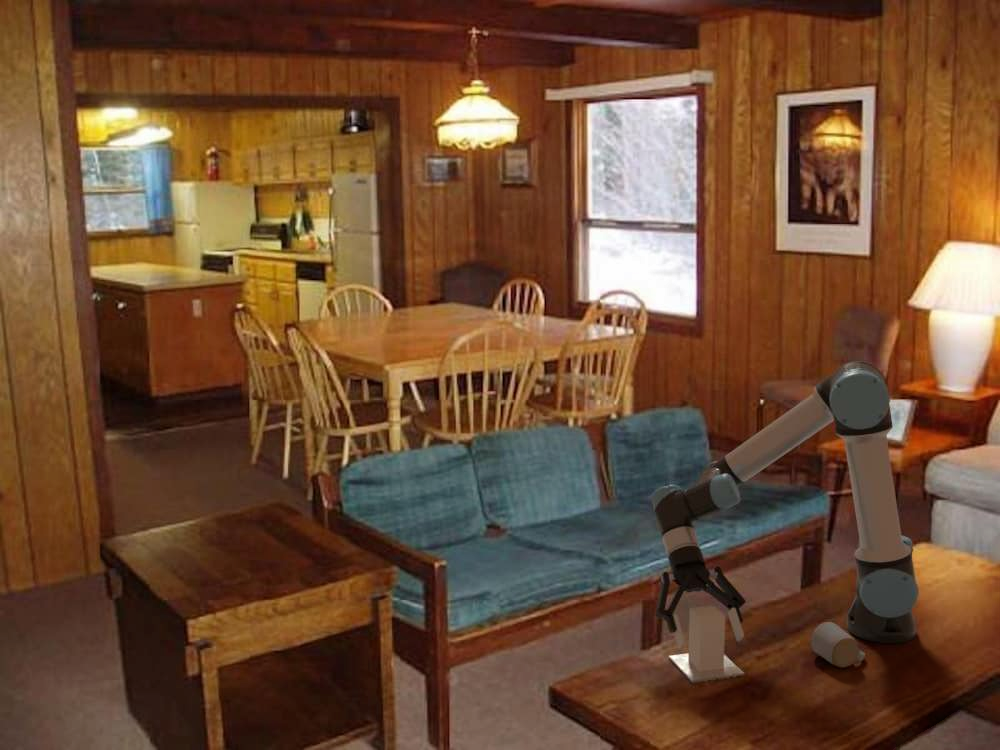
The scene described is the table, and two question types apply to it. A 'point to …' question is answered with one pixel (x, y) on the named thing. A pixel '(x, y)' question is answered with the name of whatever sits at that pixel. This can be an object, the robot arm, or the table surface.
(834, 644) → the ceramic mug
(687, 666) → the square base plate
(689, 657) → the beige square prism
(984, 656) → the table surface
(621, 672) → the table surface
